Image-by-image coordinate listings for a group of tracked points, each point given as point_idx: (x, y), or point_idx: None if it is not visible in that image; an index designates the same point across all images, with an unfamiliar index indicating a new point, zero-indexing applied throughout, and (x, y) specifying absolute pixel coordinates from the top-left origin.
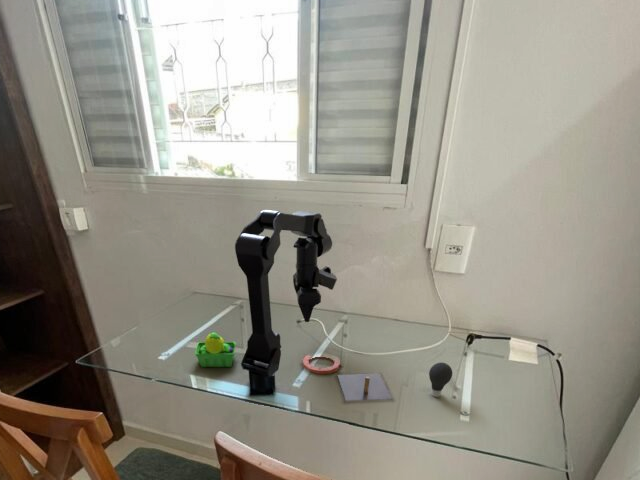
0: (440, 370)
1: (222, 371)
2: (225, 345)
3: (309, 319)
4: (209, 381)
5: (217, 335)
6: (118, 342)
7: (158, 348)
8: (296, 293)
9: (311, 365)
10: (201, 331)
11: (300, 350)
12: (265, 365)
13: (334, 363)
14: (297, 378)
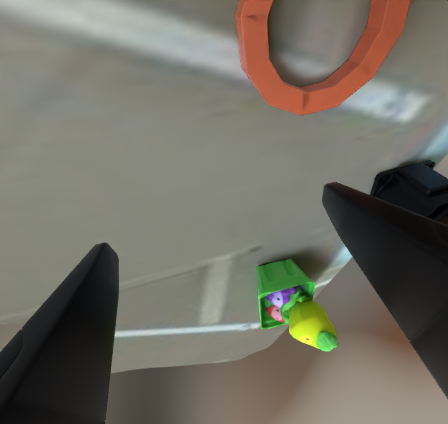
0: None
1: (305, 263)
2: (293, 304)
3: (354, 189)
4: (336, 266)
5: (332, 341)
6: (218, 361)
7: (229, 337)
8: (104, 419)
9: (352, 72)
10: (154, 329)
11: (189, 134)
12: (443, 222)
13: None
14: (377, 112)
